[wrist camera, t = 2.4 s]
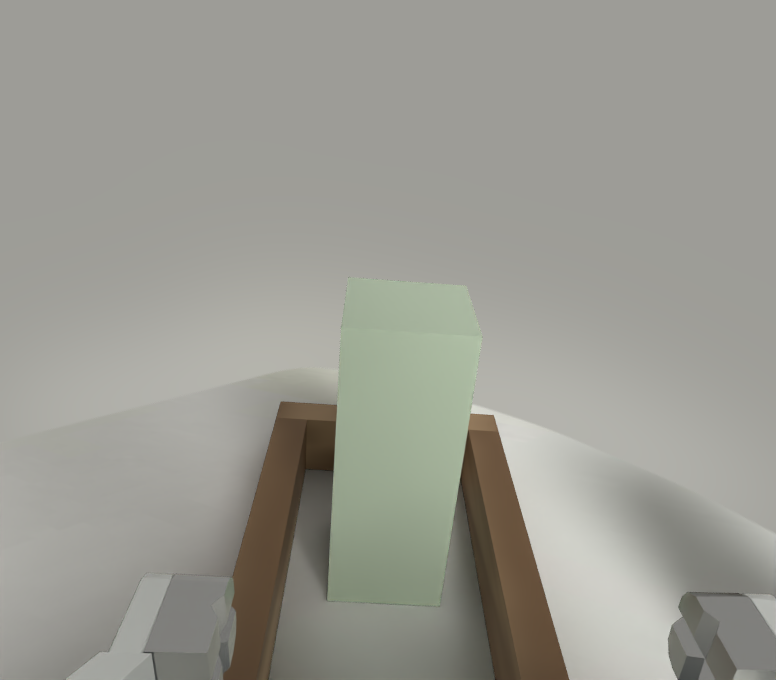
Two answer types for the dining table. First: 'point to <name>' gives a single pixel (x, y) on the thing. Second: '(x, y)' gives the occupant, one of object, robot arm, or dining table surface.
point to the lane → (487, 529)
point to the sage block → (399, 438)
